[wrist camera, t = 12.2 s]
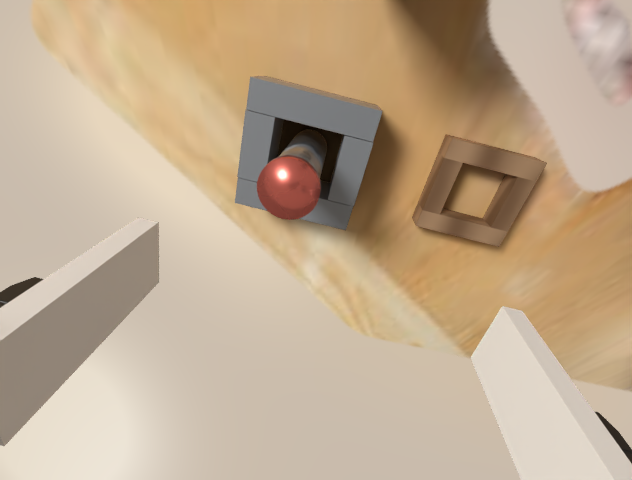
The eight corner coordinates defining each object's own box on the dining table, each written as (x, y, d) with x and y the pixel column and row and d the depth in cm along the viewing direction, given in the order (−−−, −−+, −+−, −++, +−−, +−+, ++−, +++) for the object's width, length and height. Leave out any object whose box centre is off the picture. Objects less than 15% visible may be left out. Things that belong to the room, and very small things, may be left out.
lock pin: (334, 132, 36) (326, 167, 23) (324, 172, 38) (312, 225, 25) (293, 121, 36) (261, 151, 22) (285, 162, 38) (252, 211, 25)
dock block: (377, 105, 34) (383, 111, 29) (346, 209, 40) (346, 230, 35) (264, 75, 34) (249, 76, 29) (249, 185, 40) (234, 202, 34)
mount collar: (534, 157, 35) (547, 163, 33) (490, 237, 40) (499, 246, 38) (445, 134, 35) (452, 138, 33) (412, 217, 40) (416, 225, 37)
